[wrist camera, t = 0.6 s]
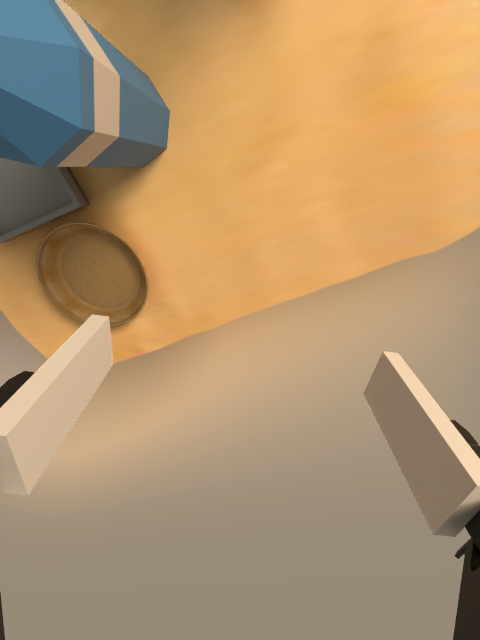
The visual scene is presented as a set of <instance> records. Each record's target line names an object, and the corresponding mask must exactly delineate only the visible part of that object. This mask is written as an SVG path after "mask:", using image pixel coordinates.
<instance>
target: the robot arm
mask: <svg viewBox="0 0 480 640" xmlns="http://www.w3.org/2000/svg"><path fill="white" fill-rule="evenodd" d="M113 364H114V363H113V353H112V342H111V332H110V321H109V316H101V315H93V314H92V315H91V316H90V317H89V318H88V319H87V320H86V321H85V322H84V323H83V324H82V325H81V326H80V327H79V328H78V329H77V330H76V331H75V333H74V334H73V335H72V336H71V337H70V338H69V339H68V340H67V341H66V342H65V343H64V344H63V345H62V346H61V347H60V348H59V349H58V350H57V351H56V352H55V353H54V354H53V355H52V356H51V357H50V358H49V359H48V360H47V361H46V362H45V363H44V364H43V365H42V366H41V367H40V368H39V369H38V370H37V371H36V372H28V371H24V372H22V373H20V374H18V375H16V376H15V377H13V378H11V379H9V380H8V381H7V382H6V383H5V384H4V385H3V386H1V387H0V487H1V490H2V492H3V493H8V494H18V495H29V494H30V492H31V491H32V489H33V488H34V486H35V484H36V483H37V481H38V480H39V478H40V477H41V475H42V474H43V472H44V471H45V469H46V467H47V466H48V464H49V463H50V461H51V460H52V458H53V456H54V455H55V453H56V452H57V450H58V449H59V447H60V446H61V444H62V443H63V441H64V440H65V438H66V436H67V435H68V433H69V432H70V430H71V429H72V427H73V426H74V424H75V423H76V421H77V419H78V418H79V416H80V415H81V413H82V412H83V410H84V409H85V407H86V405H87V404H88V402H89V401H90V399H91V398H92V396H93V395H94V393H95V392H96V390H97V388H98V387H99V385H100V384H101V382H102V380H103V379H104V378H105V376H106V374H107V373H108V371H109V370H110V368H111V366H112V365H113ZM364 395H365V397H366V399H367V401H368V403H369V405H370V407H371V409H372V412H373V414H374V416H375V418H376V420H377V422H378V424H379V426H380V428H381V430H382V432H383V434H384V436H385V438H386V440H387V442H388V444H389V446H390V448H391V450H392V452H393V454H394V456H395V458H396V460H397V462H398V464H399V466H400V468H401V470H402V472H403V474H404V476H405V478H406V480H407V482H408V484H409V486H410V488H411V491H412V492H413V495H414V496H415V499H416V501H417V503H418V505H419V507H420V509H421V511H422V513H423V515H424V517H425V519H426V521H427V523H428V525H429V527H430V529H431V531H432V533H433V534H434V535H443V536H453V537H455V536H456V535H457V534H458V533H459V532H460V531H461V530H462V529H463V528H464V527H465V528H466V529H467V531H468V533H469V534H470V536H471V539H469V540H468V541H467V542H466V543H465V544H464V545H463V546H462V547H461V548H460V549H459V550H458V551H457V553H456V555H455V557H457V558H458V559H459V558H460V557H461V556H462V555H463V554H465V558H464V565H463V572H462V579H461V587H460V594H459V601H458V608H457V615H456V622H455V629H454V636H453V640H480V446H478V443H477V442H476V440H474V438H473V437H472V436H471V434H470V433H469V432H468V431H467V430H466V429H465V428H463V427H462V426H461V425H460V424H459V423H457V422H456V421H455V420H449V419H448V417H447V416H446V415H445V413H444V412H443V411H442V409H441V408H440V407H439V406H438V404H437V403H436V402H435V401H434V399H433V398H432V396H431V395H430V394H429V393H428V391H427V390H426V389H425V387H424V386H423V385H422V383H421V382H420V381H419V380H418V378H417V377H416V376H415V375H414V373H413V372H412V371H411V369H410V368H409V367H408V365H407V364H406V363H405V361H404V360H403V359H402V358H401V356H400V355H399V354H398V353H392V352H384V351H383V352H382V354H381V357H380V359H379V361H378V363H377V365H376V368H375V370H374V372H373V374H372V376H371V378H370V381H369V383H368V385H367V387H366V390H365V392H364ZM0 640H5V635H4V625H3V616H2V605H1V594H0Z"/></svg>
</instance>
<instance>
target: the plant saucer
mask: <svg viewBox="0 0 480 640" xmlns="http://www.w3.org/2000/svg"><path fill="white" fill-rule="evenodd" d="M37 271H38V276H39V280H40V282H41V284H42V286H43V289H44V290H45V292H46V294H47V295H48V296H49V298H50V299H51V300H52V301H53V303H54V304H55V305H56V306H57V307H58V308H60V309H61V310H62V311H63V312H64V313H66V314H67V315H69V316H70V317H72V318H74V319H76V320H78V321H80V322H82V323H84V322H85V321H86V320H87V319H88V318H89V317H90V316H91V315H92V314H93V315H101V316H109V321H110V327H113V326H118V325H122V324H124V323H127V322H128V321H130V320H132V319H133V318H135V317H136V316H137V315H138V313H139V312H140V311H141V310H142V308H143V306H144V305H145V302H146V299H147V295H148V279H147V275H146V271H145V268H144V266H143V264H142V262H141V260H140V258H139V257H138V255H137V254H136V252H135V251H134V250H133V249H132V247H131V246H130V245H129V244H128V243H127V242H126V241H124V240H123V239H122V238H121V237H119V236H118V235H117V234H115V233H113V232H112V231H110V230H108V229H106V228H103V227H101V226H98V225H94V224H89V223H68V224H64V225H62V226H59V227H57V228H55V229H54V230H52V231H51V232H50V233H48V234H47V235H46V237H45V238H44V239H43V241H42V242H41V244H40V247H39V249H38V253H37Z"/></svg>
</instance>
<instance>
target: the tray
mask: <svg viewBox="0 0 480 640" xmlns="http://www.w3.org/2000/svg"><path fill="white" fill-rule="evenodd" d="M88 204H89V202H88V201H87V199H86V197H85V195H84V194H83V192H82V190H81V188H80V187H79V185H78V183H77V181H76V180H75V178H74V176H73V174H72V173H71V171H70V169H69V167H39V166H35V165H31V164H26V163H22V162H17V161H13V160H9V159H4V158H0V244H1V243H4V242H7V241H9V240H11V239H13V238H15V237H18V236H20V235H22V234H24V233H27V232H29V231H31V230H33V229H35V228H38V227H40V226H42V225H44V224H46V223H49V222H51V221H53V220H55V219H57V218H60V217H62V216H64V215H66V214H69V213H71V212H73V211H75V210H77V209H80V208H82V207H84V206H86V205H88Z"/></svg>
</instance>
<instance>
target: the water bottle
mask: <svg viewBox="0 0 480 640" xmlns="http://www.w3.org/2000/svg"><path fill="white" fill-rule="evenodd" d="M169 114H170V111H169V109H168V108H167V106H166V105H165V103H164V101H163V100H162V98H161V96H160V95H159V93H158V92H157V90H156V88H155V87H154V85H153V84H152V82H151V80H150V79H149V77H148V76H147V75H146V74H144V73H143V72H142V71H141V70H140V69H139V68H138V67H137V66H135V65H134V64H133V63H132V62H131V61H130V60H129V59H128V58H126V57H125V56H124V55H123V54H122V53H121V52H120V51H119V50H117V49H116V48H115V47H114V46H113V45H112V44H111V43H110V42H109V41H107V40H106V39H105V38H104V37H103V36H102V35H101V34H100V33H98V32H97V31H96V30H95V29H94V28H93V27H92V26H91V25H89V24H88V23H87V22H86V21H85V20H84V19H83V18H82V17H80V16H79V15H78V14H77V13H76V12H75V11H74V10H73V9H71V8H70V7H69V6H68V5H67V4H66V3H65V2H64V1H62V0H0V158H4V159H9V160H13V161H17V162H22V163H26V164H31V165H35V166H39V167H144V166H145V165H147V164H148V163H149V162H150V161H151V160H153V159H154V158H155V157H156V156H158V155H159V154H160V153H161V152H162V151H164V150H165V149H166V148H167V138H168V126H169Z"/></svg>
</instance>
